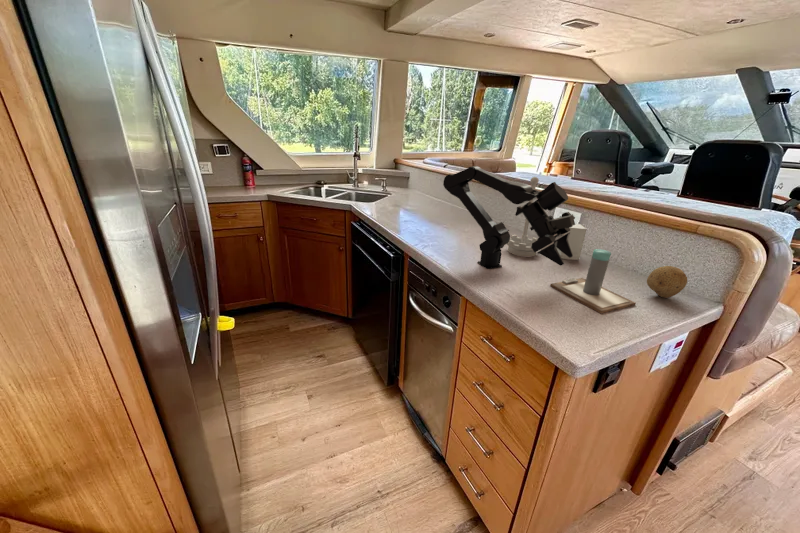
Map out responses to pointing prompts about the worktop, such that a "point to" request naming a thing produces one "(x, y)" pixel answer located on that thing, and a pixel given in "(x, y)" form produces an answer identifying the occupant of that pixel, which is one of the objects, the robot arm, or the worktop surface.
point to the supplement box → (575, 241)
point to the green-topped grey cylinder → (596, 271)
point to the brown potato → (667, 281)
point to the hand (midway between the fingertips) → (567, 260)
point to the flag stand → (523, 236)
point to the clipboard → (592, 296)
